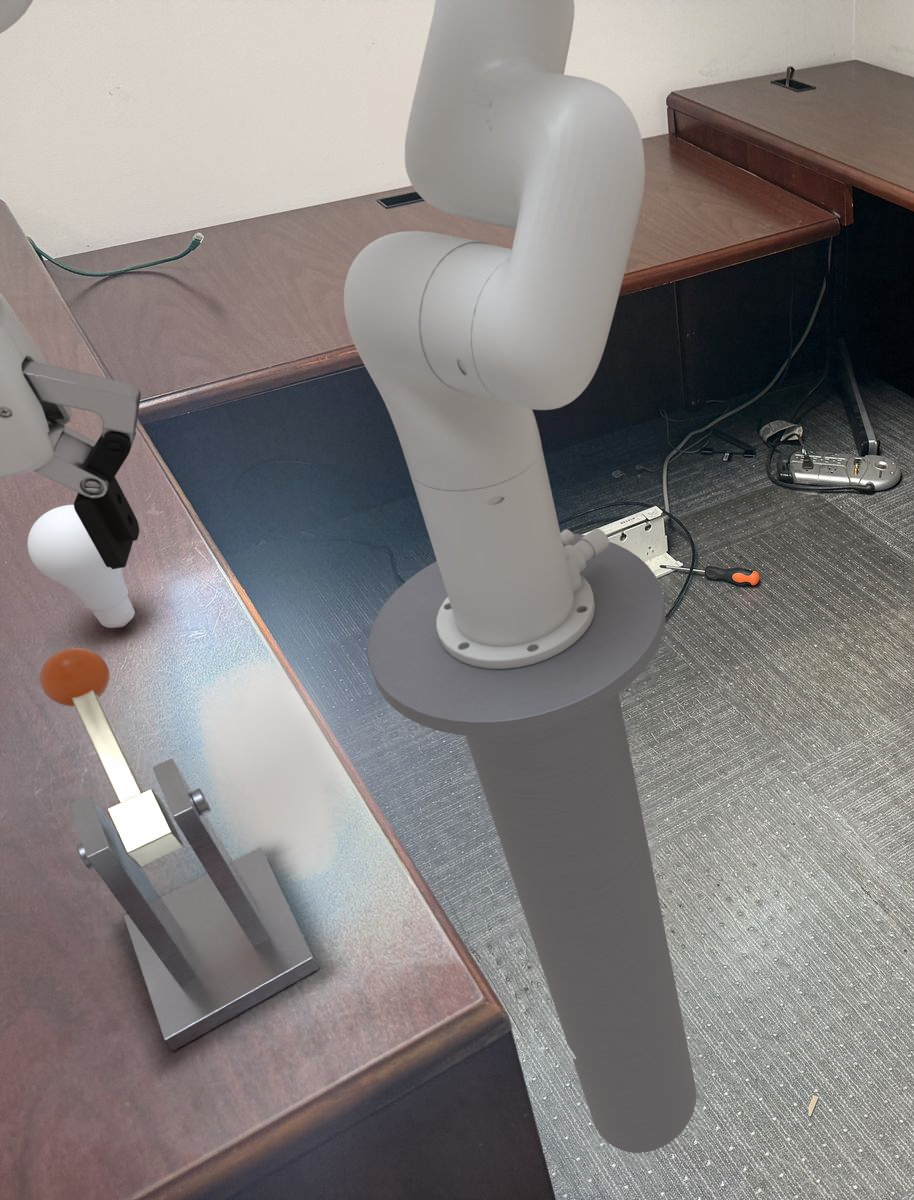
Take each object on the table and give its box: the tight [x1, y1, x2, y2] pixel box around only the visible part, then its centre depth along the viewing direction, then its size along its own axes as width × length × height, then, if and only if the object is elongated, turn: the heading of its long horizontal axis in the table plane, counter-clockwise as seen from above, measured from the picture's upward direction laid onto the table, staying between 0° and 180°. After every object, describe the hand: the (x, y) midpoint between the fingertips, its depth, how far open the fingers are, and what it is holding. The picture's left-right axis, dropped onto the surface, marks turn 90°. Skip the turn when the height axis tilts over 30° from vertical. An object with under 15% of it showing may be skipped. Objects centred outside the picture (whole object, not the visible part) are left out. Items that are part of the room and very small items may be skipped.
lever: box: [39, 647, 184, 868], centre depth 59 cm, size 13×3×3 cm, turn 39°
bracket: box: [69, 758, 320, 1052], centre depth 60 cm, size 10×8×13 cm
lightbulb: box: [27, 504, 136, 629], centre depth 84 cm, size 6×6×11 cm
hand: (16, 572), depth 53 cm, fingers open, 9 cm apart
